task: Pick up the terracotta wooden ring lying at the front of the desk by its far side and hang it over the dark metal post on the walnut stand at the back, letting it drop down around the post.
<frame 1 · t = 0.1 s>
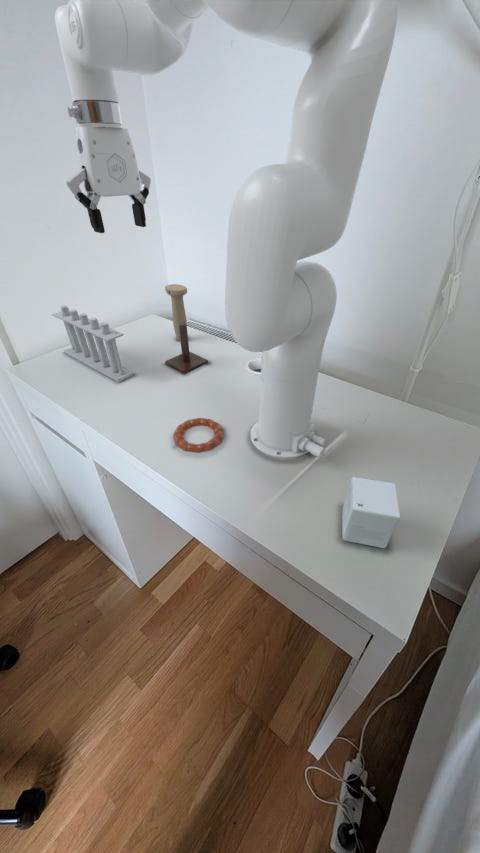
hand: (120, 229, 70), 31 cm above the table, tool pointing down, fingers open, 9 cm apart
rack post: (186, 363, 89), on the table
ring: (198, 435, 65), point 1 cm above the table
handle: (181, 339, 102), on the table
test tube rack: (97, 364, 90), on the table
product box: (362, 528, 50), on the table
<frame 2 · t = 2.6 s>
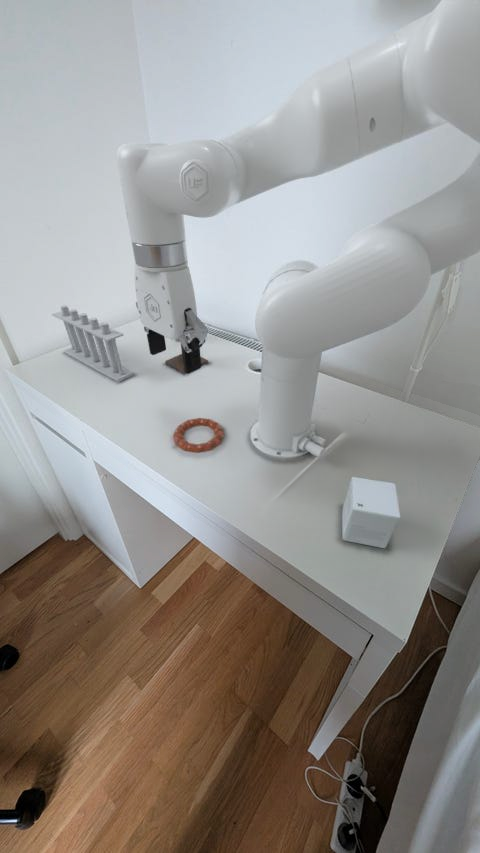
hand: (175, 361, 59), 15 cm above the table, tool pointing down, fingers open, 9 cm apart
nothing on the table moved.
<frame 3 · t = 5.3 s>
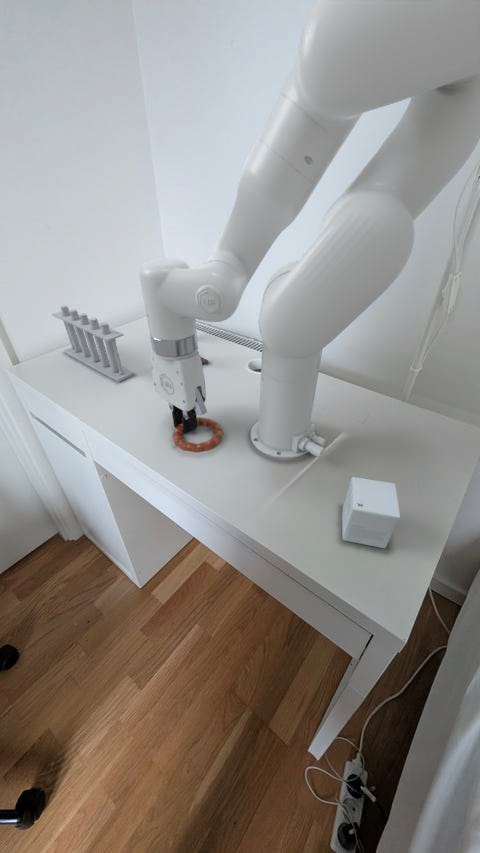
hand: (185, 427, 67), 1 cm above the table, tool pointing down, fingers closed on ring, 2 cm apart
ring: (198, 434, 65), point 1 cm above the table, touching gripper
everything else where it was.
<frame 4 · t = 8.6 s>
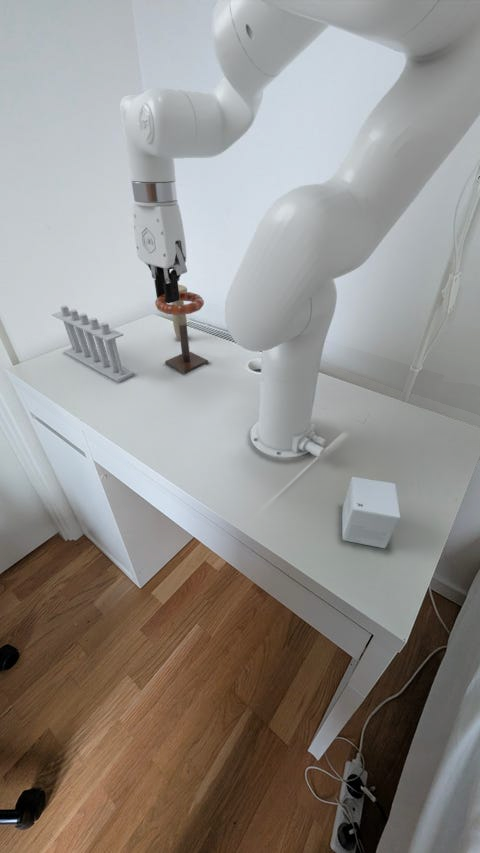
hand: (168, 299, 71), 20 cm above the table, tool pointing down, fingers closed on ring
ring: (179, 302, 69), point 20 cm above the table, touching gripper
everything else where it was.
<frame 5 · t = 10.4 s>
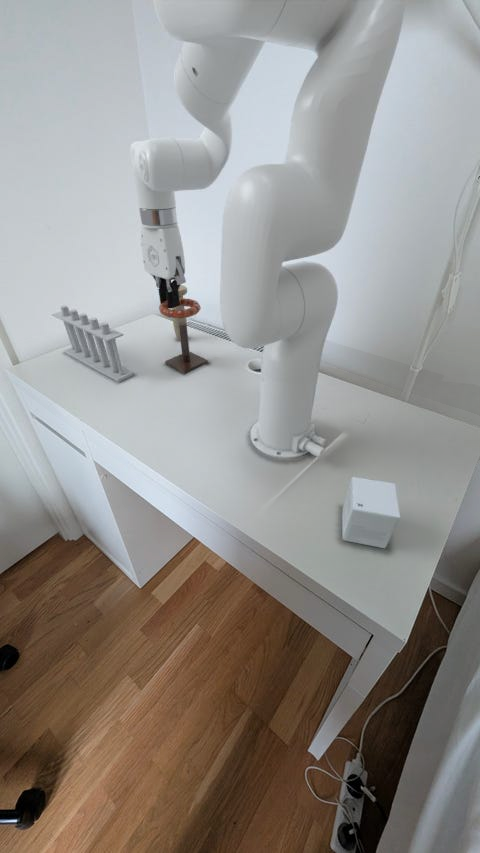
hand: (170, 304, 82), 15 cm above the table, tool pointing down, fingers closed on ring
ring: (179, 307, 80), point 15 cm above the table, touching gripper
everything else where it was.
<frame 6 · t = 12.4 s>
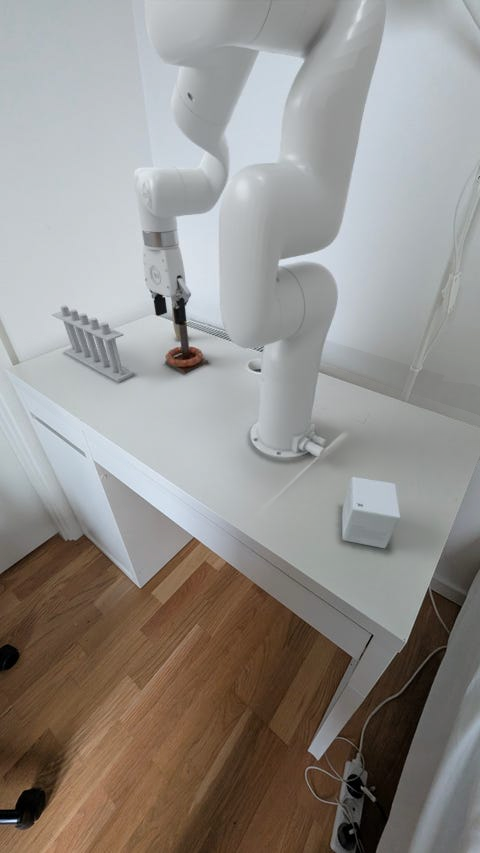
hand: (170, 317, 85), 11 cm above the table, tool pointing down, fingers open, 6 cm apart
ring: (184, 356, 89), point 2 cm above the table, touching rack post
everything else where it was.
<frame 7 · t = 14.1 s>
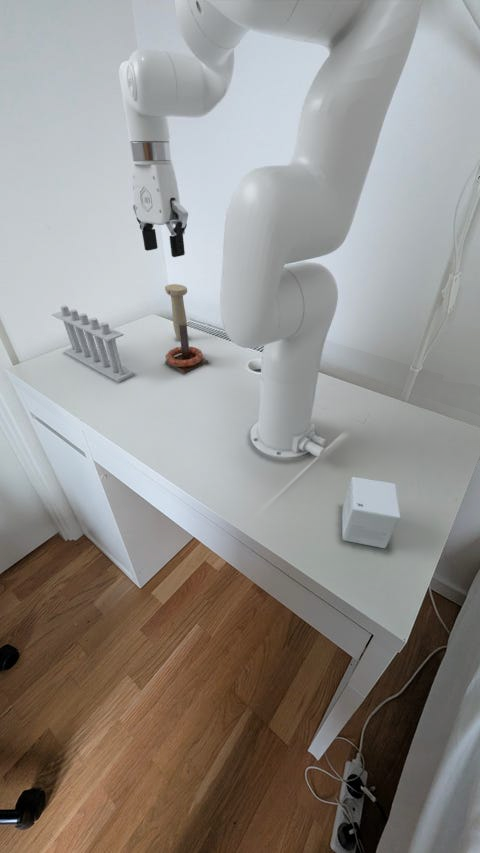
hand: (164, 252, 76), 26 cm above the table, tool pointing down, fingers open, 9 cm apart
nothing on the table moved.
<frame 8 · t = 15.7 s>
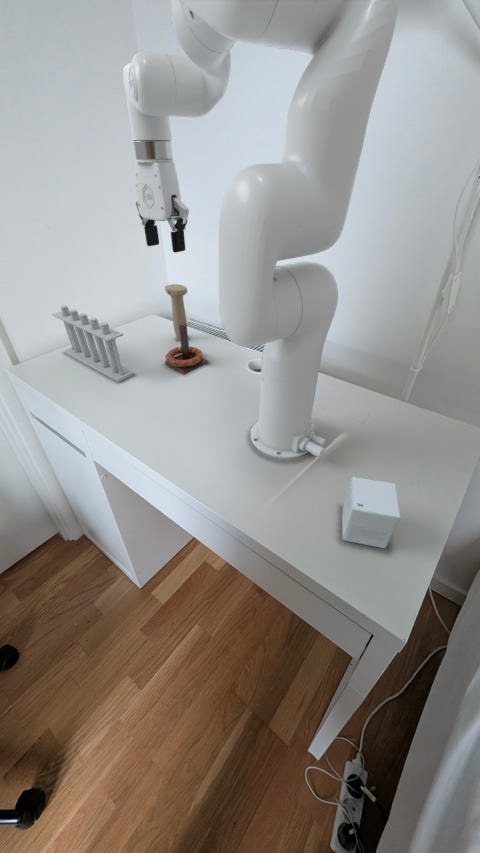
hand: (165, 248, 78), 26 cm above the table, tool pointing down, fingers open, 9 cm apart
nothing on the table moved.
at the end: ring 0.8 cm from the rack post (horizontally); ring point 1.9 cm above the table; the gripper is holding nothing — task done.
